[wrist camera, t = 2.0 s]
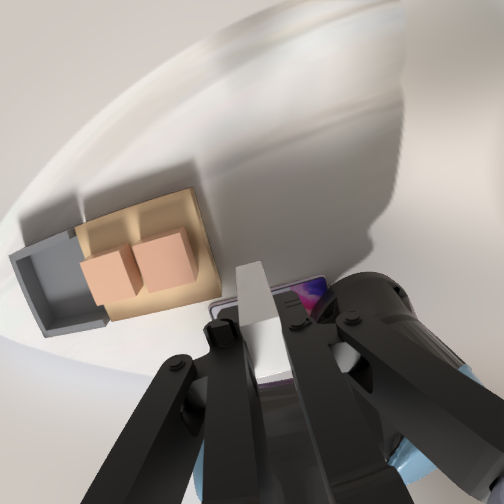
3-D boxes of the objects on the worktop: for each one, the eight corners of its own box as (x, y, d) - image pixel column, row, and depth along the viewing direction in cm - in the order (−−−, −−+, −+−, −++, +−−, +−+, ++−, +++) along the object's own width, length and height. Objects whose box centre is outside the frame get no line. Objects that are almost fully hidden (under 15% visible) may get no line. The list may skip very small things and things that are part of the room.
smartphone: (206, 306, 35) (326, 273, 35) (206, 303, 36) (324, 271, 36) (223, 353, 37) (334, 323, 37) (224, 349, 38) (332, 320, 38)
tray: (116, 311, 35) (105, 326, 31) (57, 324, 35) (44, 337, 31) (82, 223, 31) (66, 230, 27) (25, 247, 31) (8, 255, 27)
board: (222, 286, 35) (221, 296, 32) (119, 310, 35) (111, 321, 32) (192, 186, 31) (189, 188, 28) (85, 222, 31) (74, 227, 28)
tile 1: (143, 285, 31) (136, 296, 28) (106, 294, 31) (97, 306, 28) (128, 242, 29) (118, 250, 26) (91, 254, 29) (79, 262, 26)
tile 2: (198, 271, 31) (195, 281, 28) (155, 282, 31) (149, 293, 28) (184, 226, 29) (179, 232, 26) (140, 238, 29) (131, 246, 26)
